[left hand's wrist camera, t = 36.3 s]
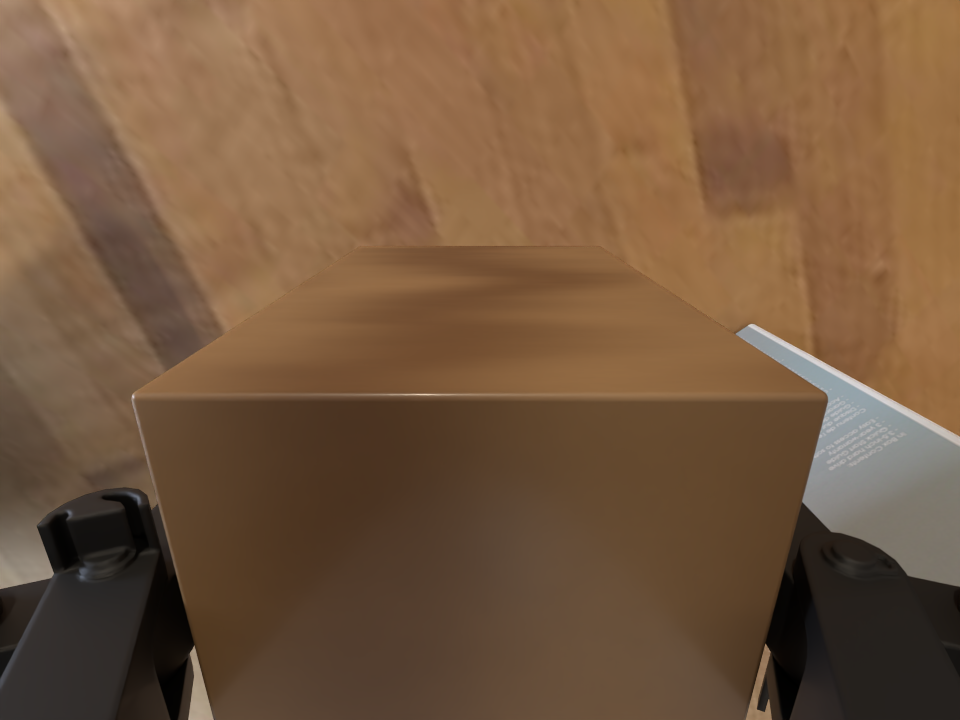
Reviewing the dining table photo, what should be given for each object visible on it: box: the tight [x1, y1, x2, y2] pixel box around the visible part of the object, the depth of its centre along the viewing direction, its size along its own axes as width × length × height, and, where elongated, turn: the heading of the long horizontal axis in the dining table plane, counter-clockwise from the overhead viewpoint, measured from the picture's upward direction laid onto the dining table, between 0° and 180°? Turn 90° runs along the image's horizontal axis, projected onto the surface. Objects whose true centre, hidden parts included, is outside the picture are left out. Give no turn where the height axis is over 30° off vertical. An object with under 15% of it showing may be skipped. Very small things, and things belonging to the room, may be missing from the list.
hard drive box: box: [736, 324, 960, 587], centre depth 25 cm, size 16×8×20 cm, turn 40°
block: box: [131, 246, 828, 720], centre depth 12 cm, size 7×8×11 cm
